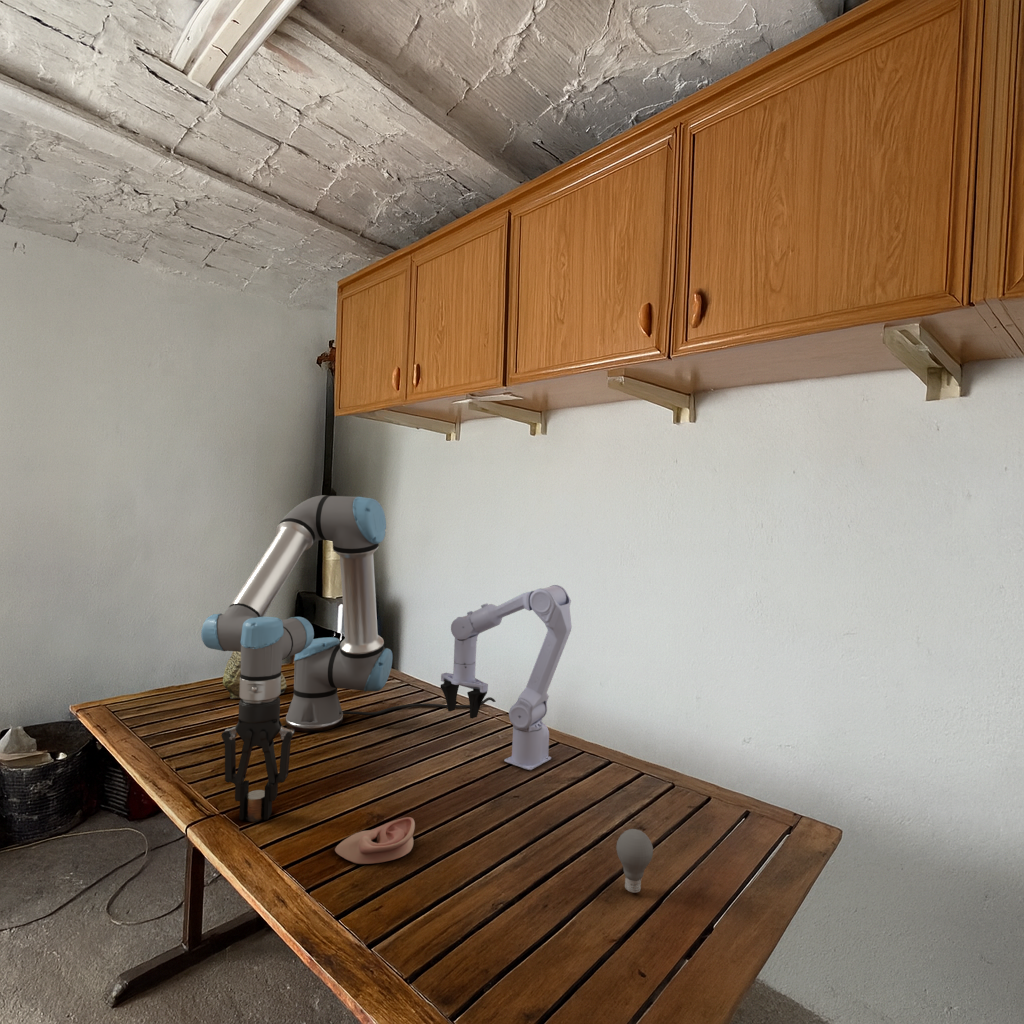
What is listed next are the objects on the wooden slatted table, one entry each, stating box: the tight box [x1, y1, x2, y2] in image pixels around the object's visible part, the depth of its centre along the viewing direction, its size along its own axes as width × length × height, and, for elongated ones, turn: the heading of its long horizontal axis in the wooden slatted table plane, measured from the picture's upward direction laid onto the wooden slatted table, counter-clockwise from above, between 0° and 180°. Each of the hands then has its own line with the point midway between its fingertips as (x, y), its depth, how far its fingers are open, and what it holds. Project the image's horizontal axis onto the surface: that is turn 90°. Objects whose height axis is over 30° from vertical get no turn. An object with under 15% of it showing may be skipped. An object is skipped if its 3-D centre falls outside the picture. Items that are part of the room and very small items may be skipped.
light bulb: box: [615, 828, 654, 894], centre depth 106 cm, size 6×6×10 cm
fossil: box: [222, 651, 288, 699], centre depth 198 cm, size 9×18×15 cm, turn 132°
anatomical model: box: [334, 816, 416, 865], centre depth 115 cm, size 13×4×12 cm
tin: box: [244, 789, 265, 823], centre depth 124 cm, size 4×4×4 cm
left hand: (255, 816), depth 124 cm, fingers closed on tin, 4 cm apart
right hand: (462, 713), depth 165 cm, fingers open, 7 cm apart
